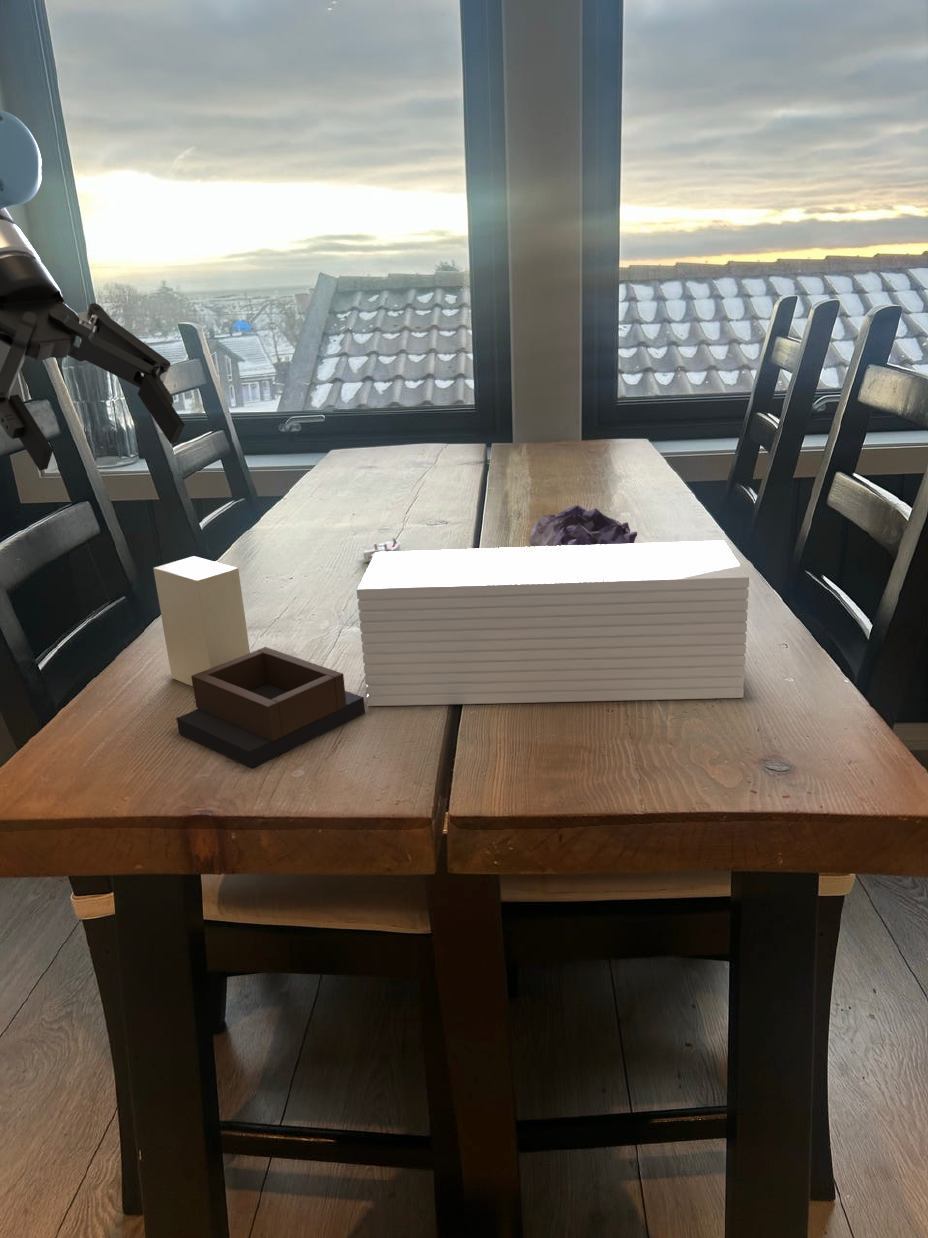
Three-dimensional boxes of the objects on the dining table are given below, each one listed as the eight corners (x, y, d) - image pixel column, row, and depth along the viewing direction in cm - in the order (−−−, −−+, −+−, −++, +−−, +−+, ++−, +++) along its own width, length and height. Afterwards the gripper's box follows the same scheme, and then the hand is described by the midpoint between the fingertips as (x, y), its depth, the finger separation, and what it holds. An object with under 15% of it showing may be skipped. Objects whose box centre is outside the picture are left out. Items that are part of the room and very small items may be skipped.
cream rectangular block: (214, 696, 90) (197, 580, 87) (171, 678, 95) (152, 567, 91) (254, 679, 93) (238, 567, 90) (210, 663, 98) (193, 555, 94)
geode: (678, 618, 103) (669, 527, 99) (570, 644, 102) (556, 553, 98) (618, 556, 121) (608, 477, 117) (526, 577, 120) (513, 498, 116)
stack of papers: (367, 706, 87) (356, 589, 83) (384, 658, 97) (374, 552, 93) (743, 698, 84) (749, 577, 81) (720, 650, 94) (724, 540, 90)
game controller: (362, 556, 130) (360, 536, 129) (449, 547, 132) (448, 528, 131) (366, 568, 124) (364, 548, 123) (457, 559, 126) (456, 539, 125)
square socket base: (253, 769, 77) (245, 716, 76) (177, 733, 84) (169, 684, 82) (366, 713, 85) (362, 665, 84) (289, 684, 92) (284, 639, 90)
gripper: (113, 299, 109) (213, 448, 105) (-132, 320, 92) (-24, 499, 88) (131, 245, 104) (237, 399, 100) (-125, 257, 87) (-11, 444, 83)
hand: (115, 446), depth 94 cm, fingers open, 13 cm apart
